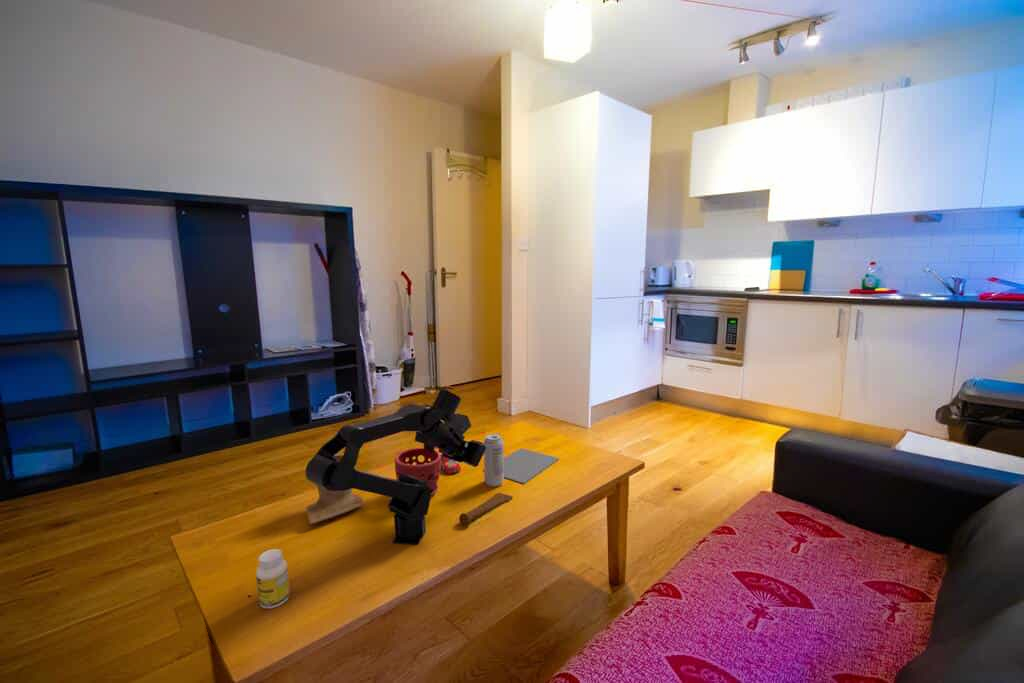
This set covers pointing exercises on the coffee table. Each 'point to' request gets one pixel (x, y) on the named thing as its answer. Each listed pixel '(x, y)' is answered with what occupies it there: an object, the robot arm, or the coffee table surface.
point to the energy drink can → (494, 460)
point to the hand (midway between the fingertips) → (468, 460)
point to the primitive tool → (484, 508)
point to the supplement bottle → (272, 579)
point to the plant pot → (420, 466)
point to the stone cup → (332, 502)
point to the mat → (526, 465)
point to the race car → (449, 465)
